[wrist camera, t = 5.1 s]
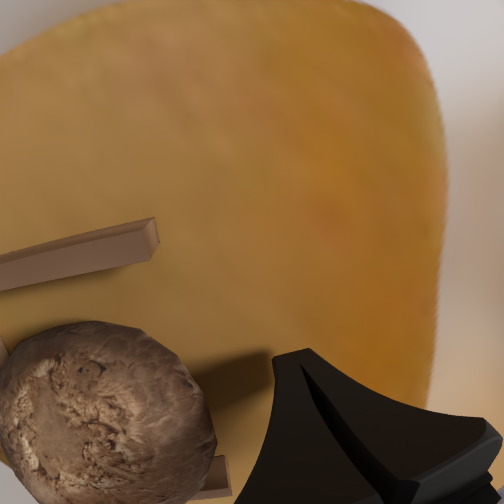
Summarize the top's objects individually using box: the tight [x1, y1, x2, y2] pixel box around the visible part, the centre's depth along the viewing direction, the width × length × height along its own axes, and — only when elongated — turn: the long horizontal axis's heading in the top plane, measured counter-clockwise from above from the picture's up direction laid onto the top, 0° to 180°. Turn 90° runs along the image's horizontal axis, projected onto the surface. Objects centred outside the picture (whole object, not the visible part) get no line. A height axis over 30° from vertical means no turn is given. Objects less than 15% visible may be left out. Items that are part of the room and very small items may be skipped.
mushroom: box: [0, 321, 218, 504], centre depth 9 cm, size 8×8×6 cm
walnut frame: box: [0, 218, 232, 500], centre depth 10 cm, size 12×9×2 cm
